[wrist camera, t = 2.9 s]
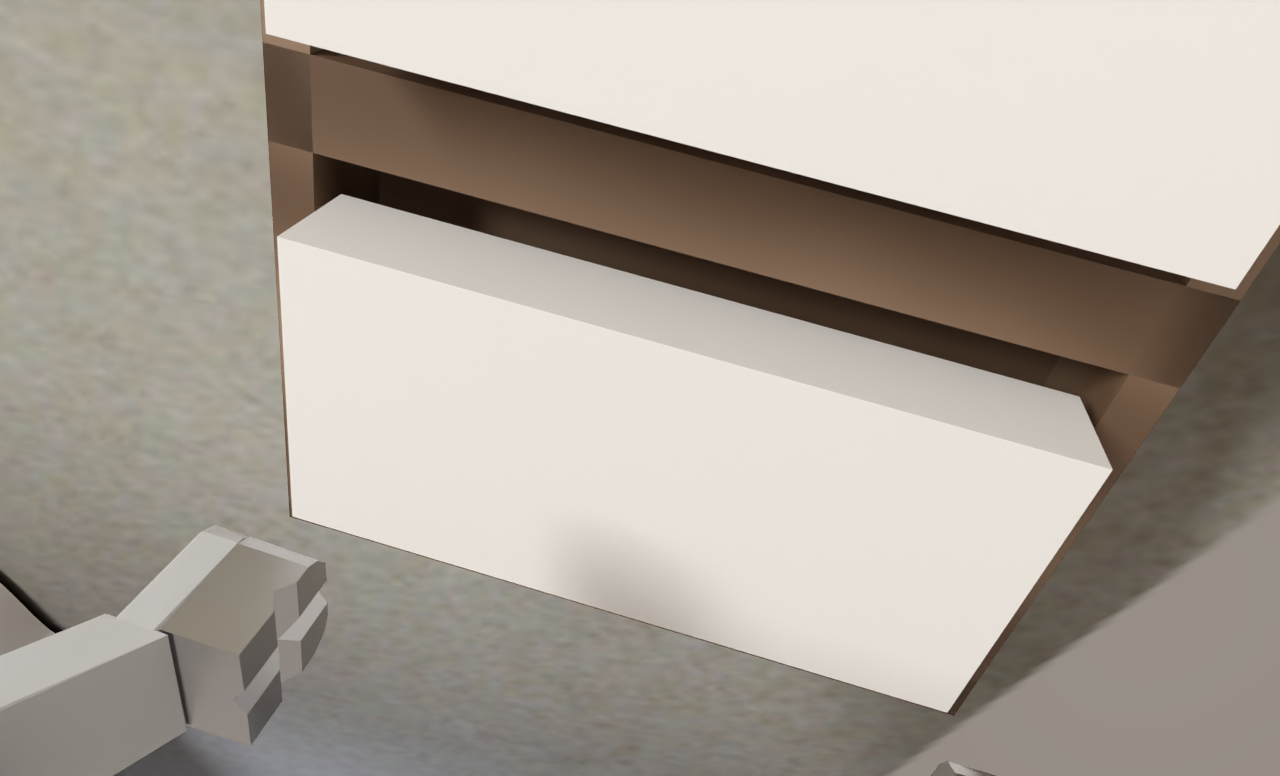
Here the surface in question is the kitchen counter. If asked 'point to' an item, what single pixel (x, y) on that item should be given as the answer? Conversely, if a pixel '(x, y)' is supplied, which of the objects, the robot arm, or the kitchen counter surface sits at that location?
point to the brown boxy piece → (744, 241)
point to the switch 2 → (670, 450)
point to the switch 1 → (904, 99)
